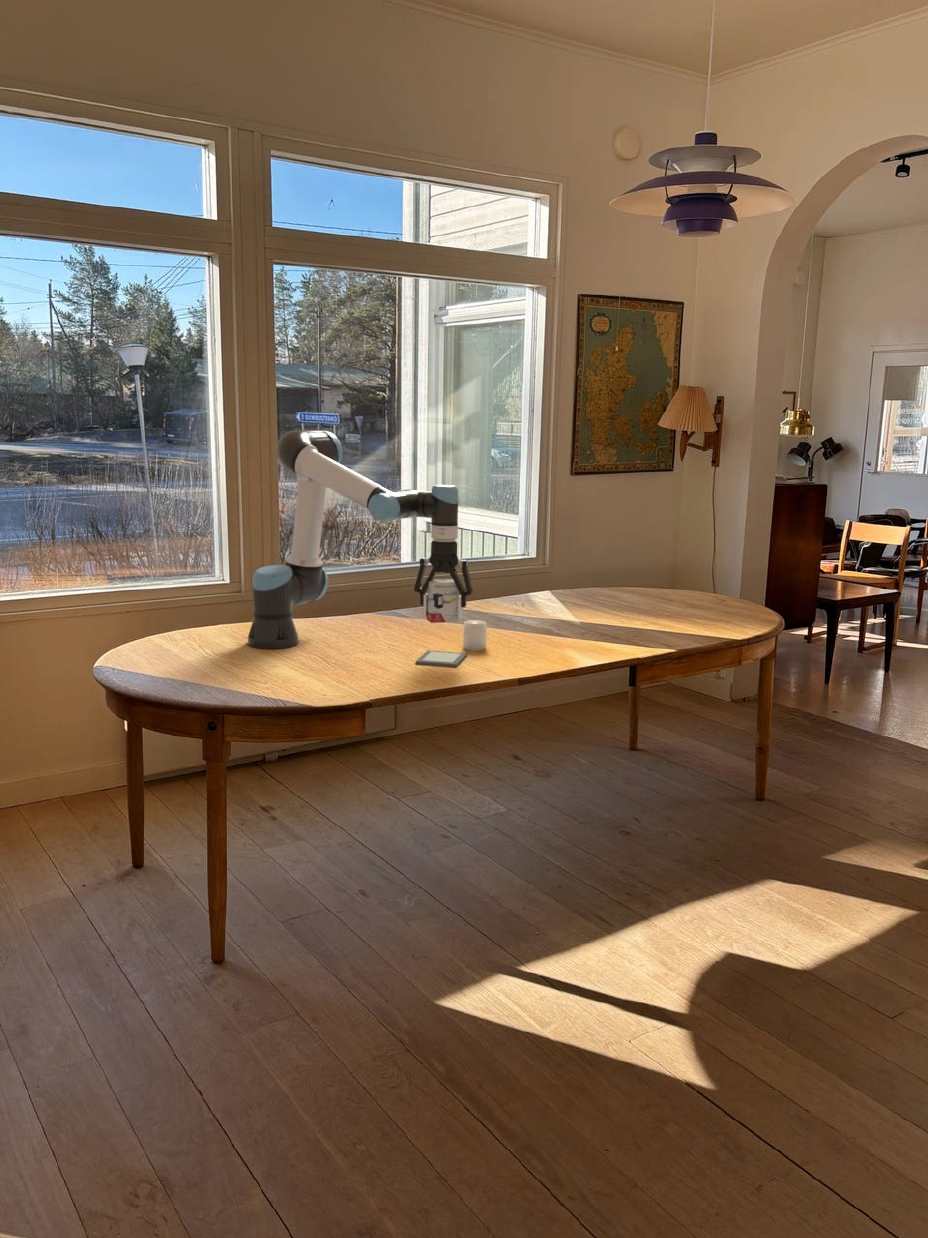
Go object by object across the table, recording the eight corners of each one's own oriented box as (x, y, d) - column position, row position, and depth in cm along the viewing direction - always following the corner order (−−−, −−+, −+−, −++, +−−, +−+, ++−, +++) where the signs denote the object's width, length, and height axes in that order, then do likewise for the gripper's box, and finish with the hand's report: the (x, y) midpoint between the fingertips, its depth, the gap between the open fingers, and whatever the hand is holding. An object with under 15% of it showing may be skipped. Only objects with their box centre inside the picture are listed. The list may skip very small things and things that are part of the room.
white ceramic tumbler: (460, 649, 307) (461, 624, 305) (465, 644, 314) (466, 619, 312) (483, 651, 306) (484, 625, 304) (487, 646, 312) (488, 621, 311)
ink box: (430, 623, 288) (431, 582, 285) (426, 619, 292) (427, 579, 290) (459, 622, 290) (460, 581, 288) (455, 618, 295) (455, 578, 292)
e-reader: (415, 664, 288) (415, 660, 288) (427, 653, 301) (427, 650, 301) (456, 667, 286) (456, 664, 285) (467, 656, 299) (467, 653, 299)
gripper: (403, 539, 285) (402, 617, 290) (479, 543, 281) (477, 622, 285) (410, 536, 292) (409, 612, 297) (485, 540, 288) (483, 617, 292)
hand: (442, 617), depth 291 cm, fingers closed on ink box, 9 cm apart
